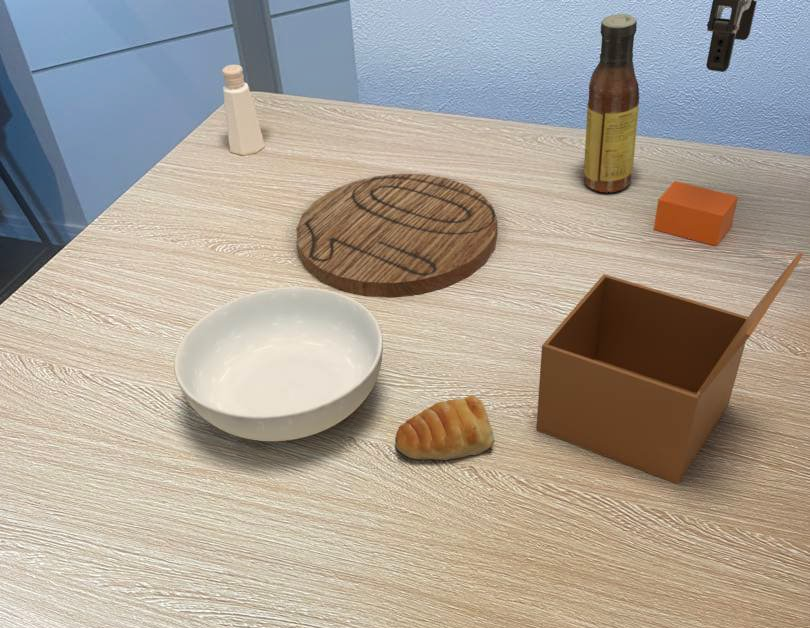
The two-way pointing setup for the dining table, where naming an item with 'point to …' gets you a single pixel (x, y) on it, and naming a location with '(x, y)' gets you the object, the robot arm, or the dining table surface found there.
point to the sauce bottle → (612, 109)
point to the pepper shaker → (240, 113)
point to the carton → (637, 376)
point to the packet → (695, 213)
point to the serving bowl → (280, 362)
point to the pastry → (446, 431)
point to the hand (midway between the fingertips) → (727, 53)
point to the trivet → (397, 235)
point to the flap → (751, 323)
